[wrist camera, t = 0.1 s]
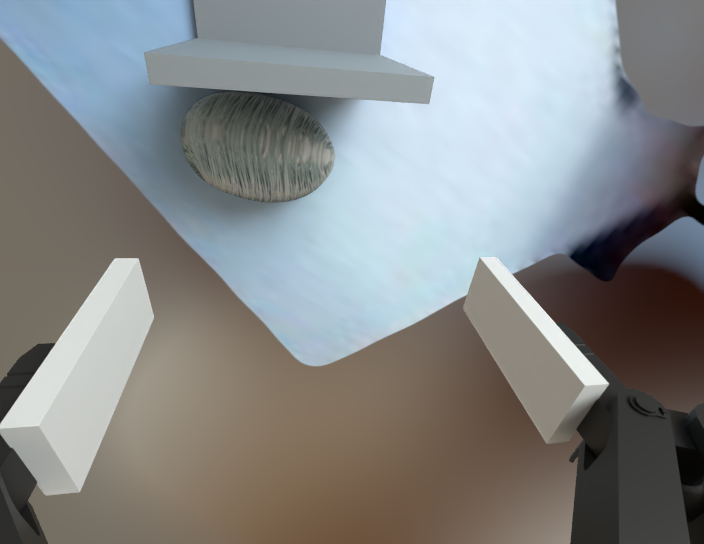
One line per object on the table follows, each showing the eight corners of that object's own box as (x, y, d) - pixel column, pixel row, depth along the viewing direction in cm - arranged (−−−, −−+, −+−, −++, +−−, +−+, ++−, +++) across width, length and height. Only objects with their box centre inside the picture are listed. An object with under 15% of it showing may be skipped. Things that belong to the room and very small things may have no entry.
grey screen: (191, -29, 30) (122, -62, 17) (384, -5, 33) (452, -18, 20) (201, 57, 33) (149, 84, 20) (376, 71, 36) (429, 104, 23)
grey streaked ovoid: (170, 188, 36) (181, 184, 28) (180, 87, 35) (195, 50, 27) (301, 211, 43) (341, 213, 35) (312, 127, 42) (356, 107, 34)
